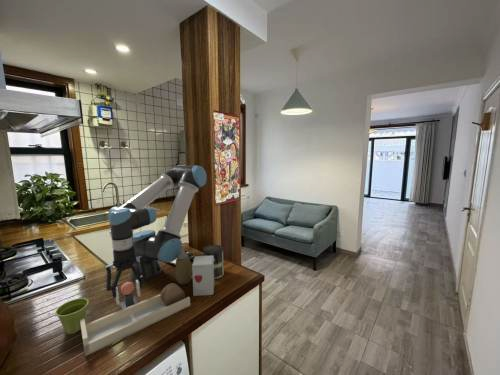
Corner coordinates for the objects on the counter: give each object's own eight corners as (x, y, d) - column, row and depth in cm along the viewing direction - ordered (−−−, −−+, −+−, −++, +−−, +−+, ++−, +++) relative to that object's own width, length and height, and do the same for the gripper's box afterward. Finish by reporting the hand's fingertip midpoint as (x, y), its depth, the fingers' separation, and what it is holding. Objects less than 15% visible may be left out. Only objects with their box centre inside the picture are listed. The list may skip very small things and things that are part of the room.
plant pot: (85, 334, 78) (82, 312, 77) (52, 341, 76) (49, 318, 74) (95, 316, 87) (92, 296, 86) (66, 321, 84) (63, 300, 83)
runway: (82, 335, 78) (79, 320, 77) (179, 293, 101) (178, 281, 100) (85, 356, 70) (82, 339, 69) (190, 305, 93) (189, 292, 92)
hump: (161, 305, 93) (159, 287, 92) (179, 297, 98) (178, 280, 97) (166, 312, 89) (165, 294, 88) (185, 303, 94) (184, 286, 93)
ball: (120, 293, 93) (118, 282, 93) (133, 288, 97) (132, 278, 96) (122, 299, 90) (121, 287, 89) (136, 294, 93) (135, 283, 92)
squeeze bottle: (191, 285, 107) (189, 249, 105) (174, 287, 106) (172, 251, 104) (193, 276, 115) (191, 243, 113) (177, 277, 114) (174, 244, 111)
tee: (119, 304, 94) (118, 293, 93) (135, 298, 98) (134, 287, 97) (122, 311, 90) (121, 300, 89) (138, 305, 93) (137, 294, 93)
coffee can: (217, 281, 111) (216, 254, 109) (200, 276, 115) (199, 251, 113) (227, 271, 120) (226, 246, 118) (211, 267, 124) (210, 243, 122)
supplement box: (192, 296, 99) (191, 264, 97) (195, 284, 108) (194, 255, 105) (213, 295, 100) (212, 263, 97) (214, 283, 108) (213, 254, 106)
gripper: (94, 258, 81) (101, 315, 84) (152, 243, 94) (156, 293, 97) (92, 251, 86) (98, 305, 90) (146, 238, 99) (150, 286, 103)
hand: (128, 299), depth 93 cm, fingers open, 7 cm apart
